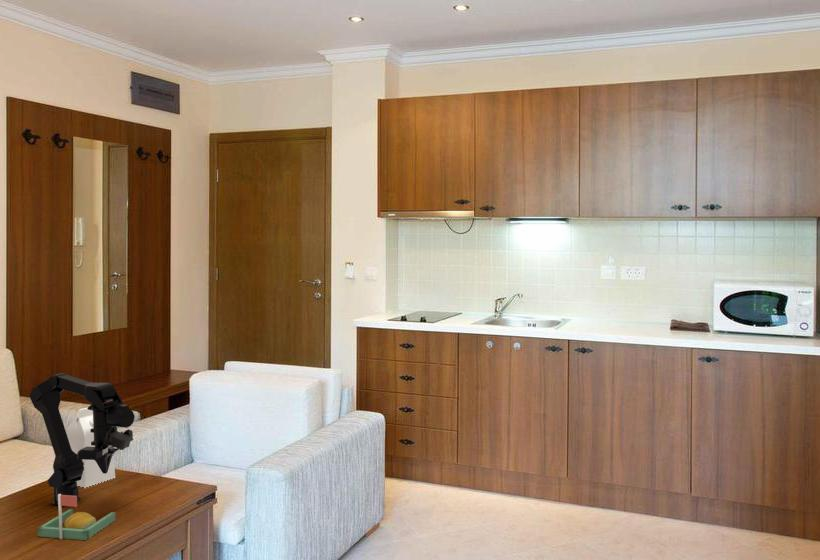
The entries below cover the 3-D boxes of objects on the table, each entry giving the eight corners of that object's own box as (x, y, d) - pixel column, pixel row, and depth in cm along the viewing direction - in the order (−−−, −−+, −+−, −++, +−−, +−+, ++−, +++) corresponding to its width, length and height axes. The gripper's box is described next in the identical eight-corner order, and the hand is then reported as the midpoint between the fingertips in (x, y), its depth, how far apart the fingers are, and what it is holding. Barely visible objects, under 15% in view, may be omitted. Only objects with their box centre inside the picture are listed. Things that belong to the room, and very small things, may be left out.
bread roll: (72, 535, 206) (71, 522, 205) (61, 526, 212) (60, 513, 212) (101, 527, 212) (100, 514, 211) (89, 519, 218) (89, 506, 218)
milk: (94, 472, 260) (92, 402, 258) (115, 477, 254) (112, 406, 252) (64, 482, 250) (61, 409, 248) (85, 488, 244) (82, 413, 242)
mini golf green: (36, 537, 204) (34, 493, 203) (69, 517, 219) (68, 475, 218) (84, 541, 201) (82, 496, 201) (115, 520, 216) (114, 478, 215)
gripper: (109, 433, 212) (110, 484, 213) (143, 417, 230) (144, 464, 231) (75, 432, 214) (77, 482, 215) (111, 416, 232) (113, 463, 233)
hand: (105, 473), depth 224 cm, fingers closed
